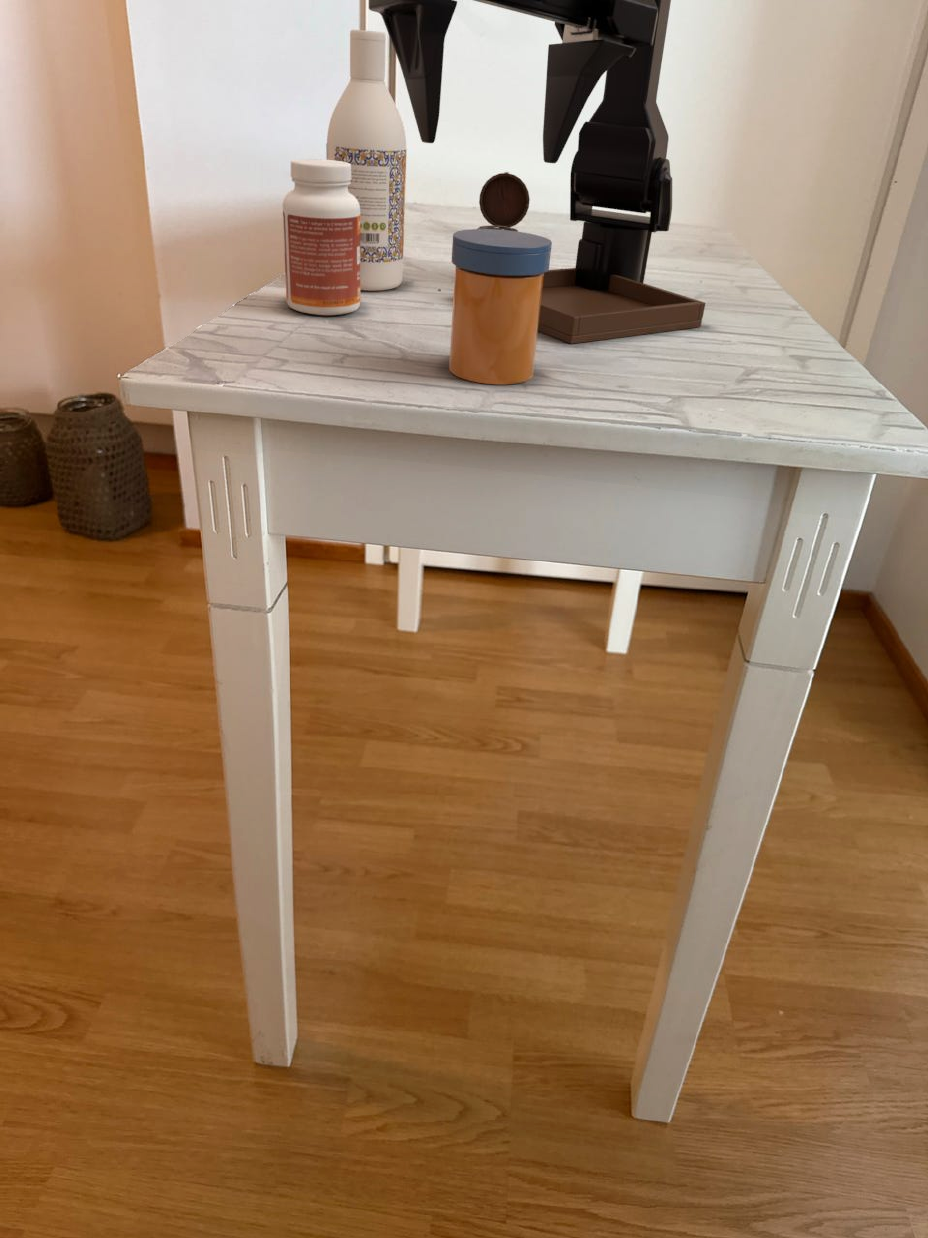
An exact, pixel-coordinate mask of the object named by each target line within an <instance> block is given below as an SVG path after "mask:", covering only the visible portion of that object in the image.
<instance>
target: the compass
mask: <svg viewBox="0 0 928 1238" xmlns="http://www.w3.org/2000/svg"><path fill="white" fill-rule="evenodd" d="M478 200H479V201H478V204H479V209H480V212H481V215H482V216H483V218H484V219H485V221H486V222H487V223H488V224H490V225H480V226H478V227H477V228H476V229H496V230H509V231H517V232H520V231H519V230H518V229H517V228H514V227H515V226H517V225H519V224H520V222H522V221H523V219H524V218H525V217H526V216H527V213H528V210H529V207H530V201H531V200H530V193H529V189H528V188H527V185H526V183H525V182H524V181H523V180H522V179H521V178H520V177H518V175H515V174H512V173H509V171H505V172H501V173H497V174H494V175H492V176H491V177H490V178H488V179H487V180H486V181H485V183H484V184H483V186H482V187H481V190H480V193H479V199H478Z"/></svg>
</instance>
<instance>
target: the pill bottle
mask: <svg viewBox="0 0 928 1238" xmlns="http://www.w3.org/2000/svg"><path fill="white" fill-rule="evenodd" d="M290 177H291V182H292V183H294V188H293V189H292V190H290V191H289V192H288V193H286V195H285V196H284V198H283V201H282V224H283V249H284V275H285V296H286V303H287V305H288V307H289V308H290V309H292V310H295V311H296V312H300V313H305V314H309V315H315V316H340V315H345V314H351V313H353V312H355V311H357V310H358V309H359V308H360V305H361V290H360V205H359V202H358V200H357V199H356V198H355V197H354V196H353V195H352V194H350V193H349V192H348V185H349V184H350V183H351V182H350V181H351V164H350V163H347V162H342V161H334V160H327V159H323V158H321V159H319V158H296V159H291V160H290Z"/></svg>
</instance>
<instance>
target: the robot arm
mask: <svg viewBox="0 0 928 1238" xmlns="http://www.w3.org/2000/svg"><path fill="white" fill-rule="evenodd" d="M474 1H475V2H476V3H477V2H478V3H482V4H486V5H489V6H493V7H497V8H501V9H505V10H509V11H512V12H516V13H520V14H524V15H528V16H531V17H536V18H539V19H543V20H547V21H551V22H554V27H555V29H556V31H557V33H558V35H559V37H560V39H561V43H551V44H550V43H549V44H548V48H547V62H546V63H547V64H546V81H545V95H544V97H545V98H544V110H543V111H544V113H543V125H542V126H543V127H542V154H543V155H542V156H543V162H544V163H545V164H556V163H558V161H559V159H560V157H561V155H562V153H563V151H564V148H565V147H566V145H567V142H568V140H569V138H570V136H571V135H572V132H573V130H574V128H575V126H576V125H577V122H578V119H579V118H580V115H581V114H582V112H583V109H584V107H585V105H586V103H587V101H588V100H589V97H590V96H591V93H592V92H593V91H594V89H595V88H596V86H597V84H598V83H599V80H600V79H601V78H602V76H603V75H604V74H605V73H606V75H605V82H604V89H603V91H604V92H603V95H602V96H603V97H602V101H601V102H600V104H599V105H598V107H597V108H596V109H595V111H594V113H593V115H592V116H591V117H590V118H589V120H588V121H585V122H584V123H583V124H582V126H581V128H580V129H579V132H578V142H577V144H578V145H577V151H576V152H575V154H574V157H573V159H572V163H571V168H570V181H569V182H570V183H569V185H570V186H569V187H570V188H569V189H570V190H569V191H570V192H569V195H570V196H569V198H570V199H569V220H570V221H571V222H578V221H579V222H583V224H582V225H583V227H582V232H581V233H582V234H581V238H580V239H579V240H578V244H577V251H576V260H575V267H574V268H575V269H576V278H575V284H576V285H577V286H580V287H583V288H586V289H589V290H595V291H597V292H600V293H602V292H603V291H605V292H603V293H605V294H606V293H608V292H606V291H609V284H610V277H611V275H618V276H621V277H625V278H628V279H631V280H634V281H637V282H641V283H644V281H645V275H646V269H647V265H648V264H647V263H648V258H649V252H650V247H651V240H652V234H653V233H657V232H669V230H670V226H671V219H672V212H673V176H672V175H671V163H670V160H669V159H668V158H667V155H668V147H669V140H670V139H669V133H668V130H667V127H666V125H665V122H664V120H663V119H664V118H663V117H662V113H661V111H660V109H659V106H658V103H657V98H658V91H659V84H660V77H661V70H662V63H663V57H664V49H665V43H666V37H667V30H668V24H669V23H668V22H669V17H670V11H671V10H670V9H671V3H672V0H473V2H474ZM457 5H458V1H457V0H368V10H369V11H371V12H374V13H378V14H380V16H381V17H382V20H383V23H384V26H385V28H386V31H387V33H388V36H389V39H390V42H391V44H392V47H393V49H394V52H395V55H396V58H397V61H398V62H399V66H400V69H401V72H402V76H403V79H404V82H405V87H406V89H407V93H408V98H409V101H410V104H411V105H410V106H411V108H412V112H413V115H414V120H415V122H416V126H417V131H418V133H419V134H418V135H419V137H420V140H421V142H422V143H425V144H434V143H435V141H436V137H437V130H438V125H439V119H440V110H441V109H440V108H441V94H442V79H443V66H444V65H443V64H444V49H445V39H446V35H447V32H448V29H449V27H450V24H451V22H452V19H453V16H454V14H455V11H456V8H457ZM593 207H596V208H602V209H596V208H595V209H594V208H593ZM603 209H610V211H609V210H603ZM611 210H617V211H624V212H630V213H624V212H617V211H611ZM631 212H632V213H639V214H646V213H650V215H649V216H645V215H639V214H631ZM601 291H602V292H601ZM609 293H610V292H609ZM611 293H613V292H611ZM608 295H609V294H608ZM611 295H612V294H611Z"/></svg>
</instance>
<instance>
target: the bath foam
mask: <svg viewBox="0 0 928 1238" xmlns="http://www.w3.org/2000/svg"><path fill="white" fill-rule="evenodd" d="M349 32H350V33H349V76H350V79H349V82H348V84H347V85H346V87H345V89H344V90H343V92H342V94H341V96H340V98H339V99H338V101H337V103H336V105H335V107H334V109H333V112H332V114H331V117H330V120H329V124H328V129H327V135H326V144H325V145H326V147H325V148H326V160H334V161H342V162H347V163H350V164H351V181H350V182H351V183H350V184H349V185H348V192H349V193H350V194H352V195H353V196H354V197H355V198H356V199H357V200H358V202H359V205H360V291H372V292H374V291H387V290H392V289H395V288H397V287H399V286H400V285H401V284H402V282H403V274H404V273H403V270H404V268H403V267H404V246H405V245H404V244H405V243H404V242H405V241H404V240H405V212H406V211H405V209H406V182H407V181H406V179H407V177H406V176H407V137H406V131H405V125H404V122H403V119H402V115H401V114H400V112H399V110H398V109H399V108H398V107H397V105H396V103H395V101H394V99H393V97H392V95H391V93H390V91H389V89H388V87H387V85H386V83H385V79H386V78H385V77H386V73H385V72H386V37H387V36H386V33H385V32H383V31H376V30H375V31H374V30H364V29H363V30H362V29H351V30H350V31H349Z"/></svg>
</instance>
